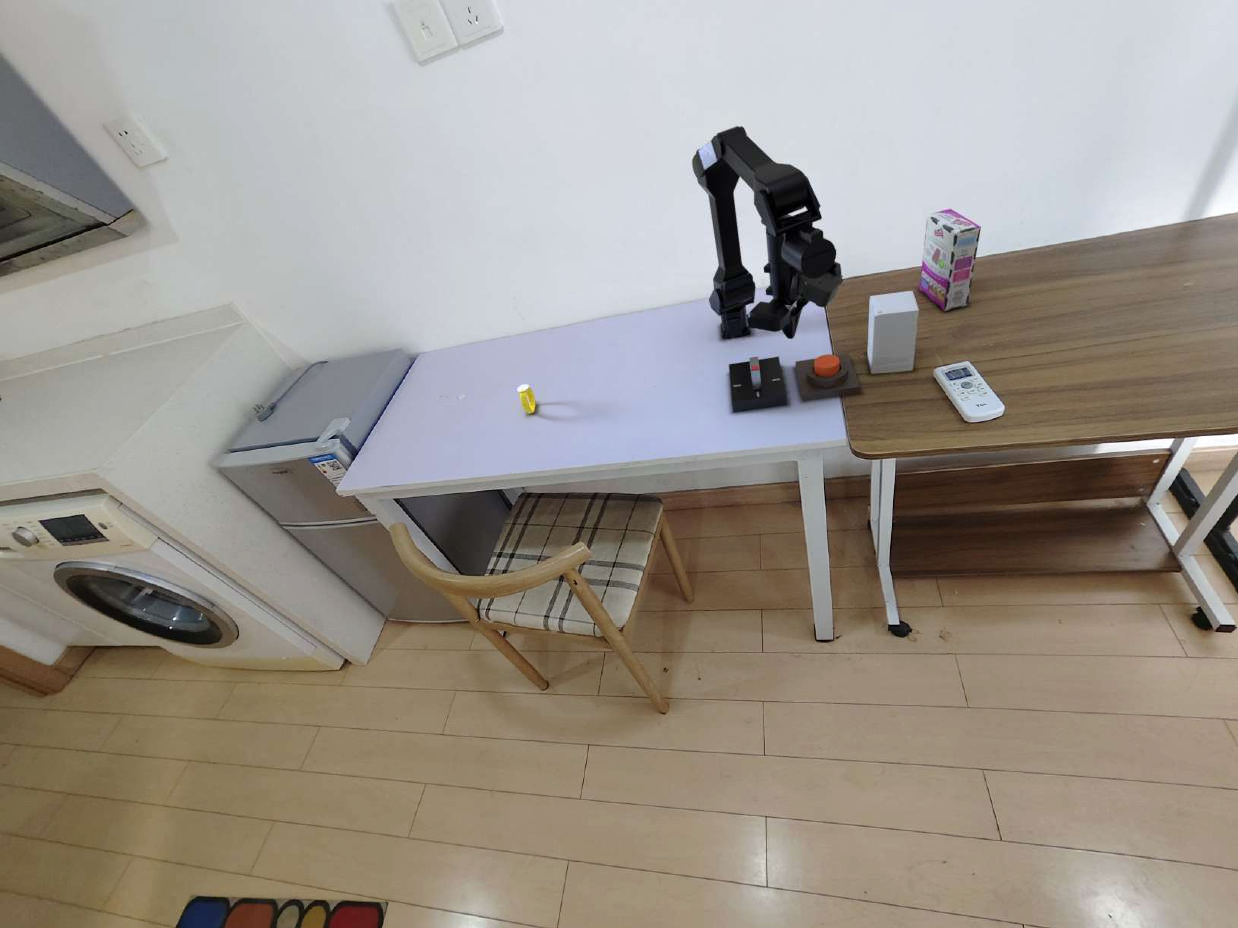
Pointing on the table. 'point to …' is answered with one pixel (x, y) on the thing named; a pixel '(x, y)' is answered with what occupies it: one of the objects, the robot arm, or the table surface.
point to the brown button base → (827, 380)
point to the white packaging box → (892, 332)
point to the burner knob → (755, 373)
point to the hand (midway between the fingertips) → (790, 337)
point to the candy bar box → (949, 258)
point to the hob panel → (770, 384)
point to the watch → (523, 392)
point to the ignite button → (826, 365)
